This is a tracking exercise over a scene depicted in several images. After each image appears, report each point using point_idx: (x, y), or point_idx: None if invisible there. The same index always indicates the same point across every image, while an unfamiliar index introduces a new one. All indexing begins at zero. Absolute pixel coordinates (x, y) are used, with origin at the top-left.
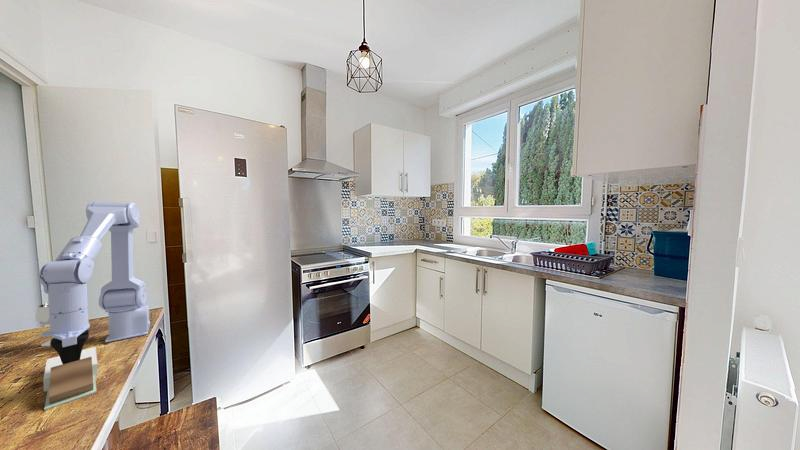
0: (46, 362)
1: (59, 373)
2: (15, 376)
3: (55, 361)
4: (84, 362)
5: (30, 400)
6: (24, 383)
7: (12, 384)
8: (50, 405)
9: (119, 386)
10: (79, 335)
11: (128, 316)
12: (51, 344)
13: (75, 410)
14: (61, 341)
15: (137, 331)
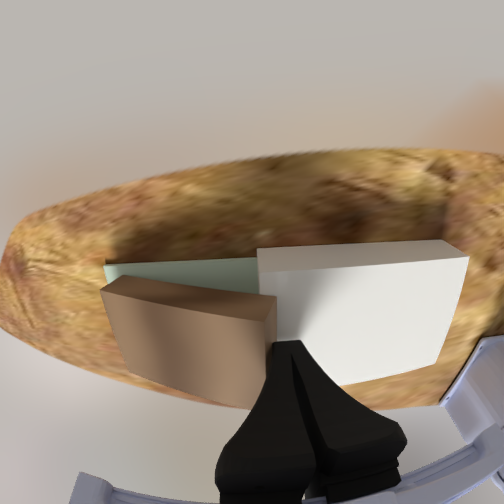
0: (444, 259)
1: (204, 335)
2: (467, 168)
3: (426, 284)
4: (240, 394)
5: (213, 220)
6: (397, 189)
7: (418, 161)
8: (115, 277)
9: (136, 385)
10: (310, 495)
11: (489, 421)
12: (230, 466)
13: (68, 317)
14: (225, 490)
15: (458, 396)
